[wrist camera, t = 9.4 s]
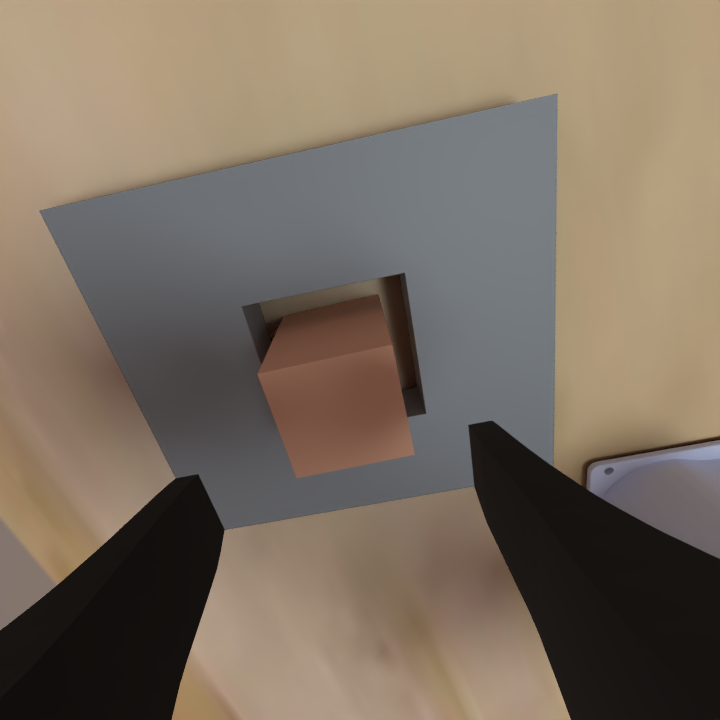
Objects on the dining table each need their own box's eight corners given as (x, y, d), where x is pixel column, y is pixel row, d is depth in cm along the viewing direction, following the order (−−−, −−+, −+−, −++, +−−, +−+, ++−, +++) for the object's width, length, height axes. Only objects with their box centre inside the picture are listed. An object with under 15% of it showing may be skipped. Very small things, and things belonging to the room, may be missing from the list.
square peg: (378, 294, 18) (392, 344, 13) (395, 378, 20) (414, 454, 14) (283, 315, 18) (257, 374, 13) (309, 397, 20) (296, 478, 15)
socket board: (525, 106, 15) (557, 93, 13) (531, 441, 22) (553, 472, 19) (82, 206, 16) (38, 210, 14) (218, 498, 23) (204, 533, 20)
